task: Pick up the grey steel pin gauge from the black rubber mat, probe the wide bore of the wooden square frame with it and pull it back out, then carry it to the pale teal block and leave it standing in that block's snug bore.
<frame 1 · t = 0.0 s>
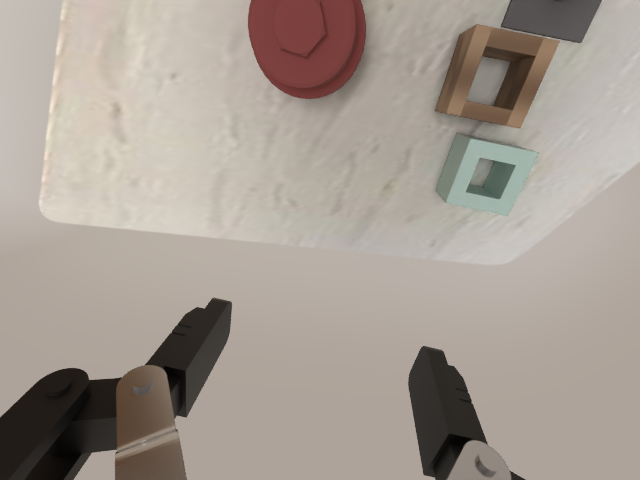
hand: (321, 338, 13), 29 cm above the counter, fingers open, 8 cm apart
mechanical component: (318, 48, 34), on the counter
teal block: (474, 169, 37), on the counter
wooden square frame: (480, 81, 33), on the counter
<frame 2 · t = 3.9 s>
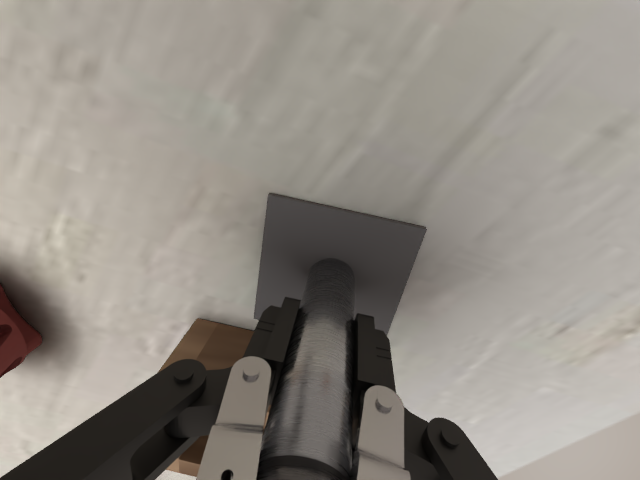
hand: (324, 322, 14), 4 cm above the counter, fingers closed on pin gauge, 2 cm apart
mechanical component: (3, 311, 22), on the counter
pin gauge: (331, 278, 17), resting on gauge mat, touching gripper
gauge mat: (331, 275, 17), on the counter
wooden square frame: (248, 371, 21), on the counter
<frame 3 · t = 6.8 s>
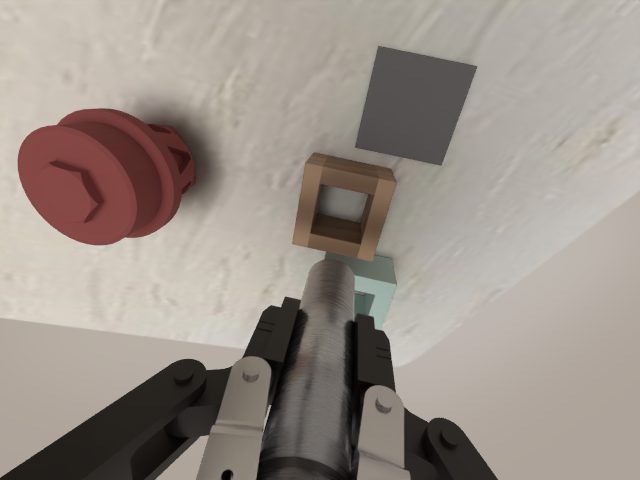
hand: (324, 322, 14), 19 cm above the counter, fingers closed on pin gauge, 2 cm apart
mechanical component: (170, 159, 31), on the counter
pin gauge: (331, 279, 17), point 15 cm above the counter, touching gripper
teal block: (352, 278, 34), on the counter
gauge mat: (411, 109, 26), on the counter
wooden square frame: (343, 197, 30), on the counter
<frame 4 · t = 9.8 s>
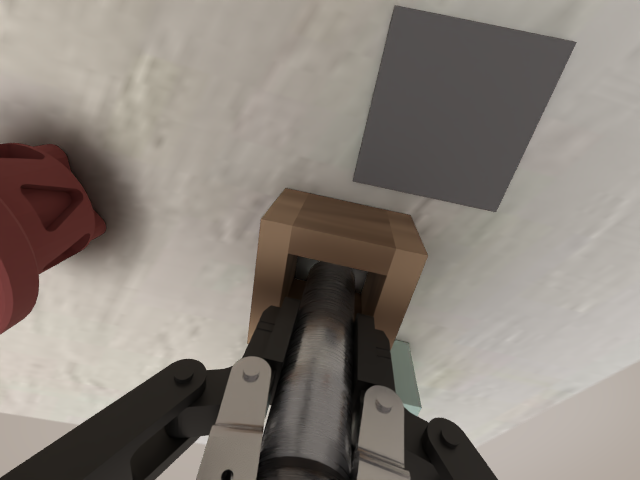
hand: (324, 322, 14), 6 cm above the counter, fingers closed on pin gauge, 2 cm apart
mechanical component: (65, 194, 20), on the counter
pin gauge: (331, 279, 17), point 3 cm above the counter, touching gripper
teal block: (348, 366, 23), on the counter
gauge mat: (449, 119, 15), on the counter
wooden square frame: (334, 256, 19), on the counter
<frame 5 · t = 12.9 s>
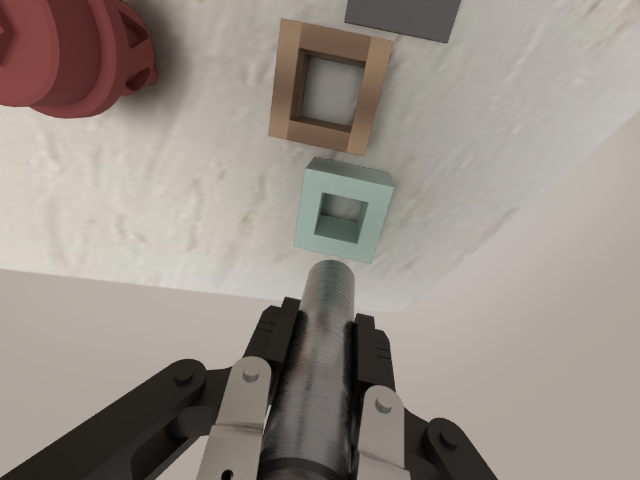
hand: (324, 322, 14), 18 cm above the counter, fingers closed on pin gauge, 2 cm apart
mechanical component: (128, 50, 26), on the counter
pin gauge: (331, 280, 17), point 14 cm above the counter, touching gripper
teal block: (343, 200, 30), on the counter
wooden square frame: (331, 92, 26), on the counter
when the fingers open (6 cm above the counter, at t = 15.6 s): pin gauge drops 3 cm, resting in teal block.
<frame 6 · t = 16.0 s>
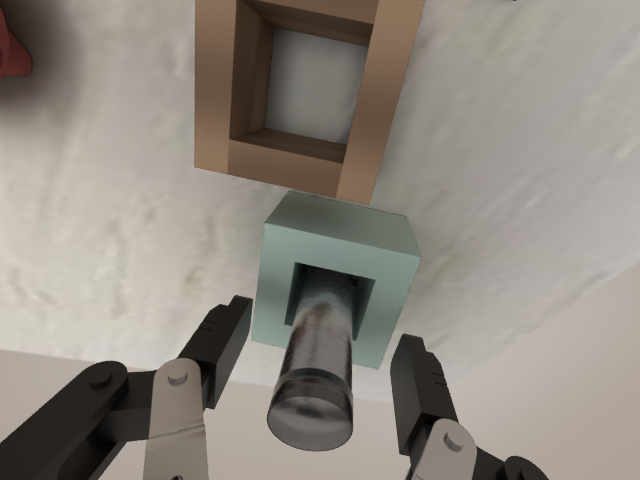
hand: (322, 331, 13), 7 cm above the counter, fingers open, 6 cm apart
pin gauge: (332, 255, 19), resting in teal block
teal block: (334, 255, 19), on the counter
wooden square frame: (313, 89, 15), on the counter
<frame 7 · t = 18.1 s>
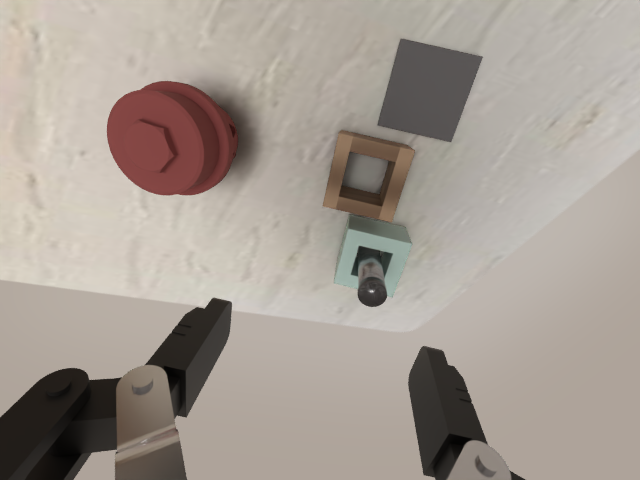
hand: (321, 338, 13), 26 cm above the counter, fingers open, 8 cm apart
mechanical component: (214, 135, 36), on the counter
pin gauge: (368, 246, 39), resting in teal block
teal block: (369, 246, 39), on the counter
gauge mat: (426, 93, 31), on the counter
wooden square frame: (365, 170, 35), on the counter
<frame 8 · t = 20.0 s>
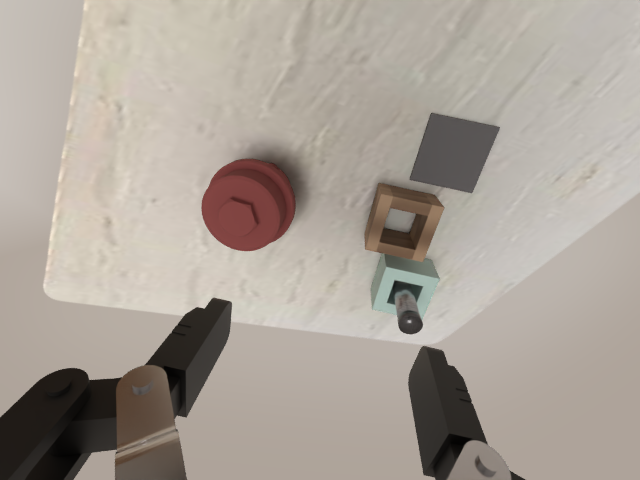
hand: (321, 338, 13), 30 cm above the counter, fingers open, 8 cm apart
mechanical component: (269, 186, 42), on the counter
pin gauge: (399, 275, 45), resting in teal block
teal block: (400, 275, 45), on the counter
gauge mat: (452, 154, 37), on the counter
wooden square frame: (398, 215, 41), on the counter
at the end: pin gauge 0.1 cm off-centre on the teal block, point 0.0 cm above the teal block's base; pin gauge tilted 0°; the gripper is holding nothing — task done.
